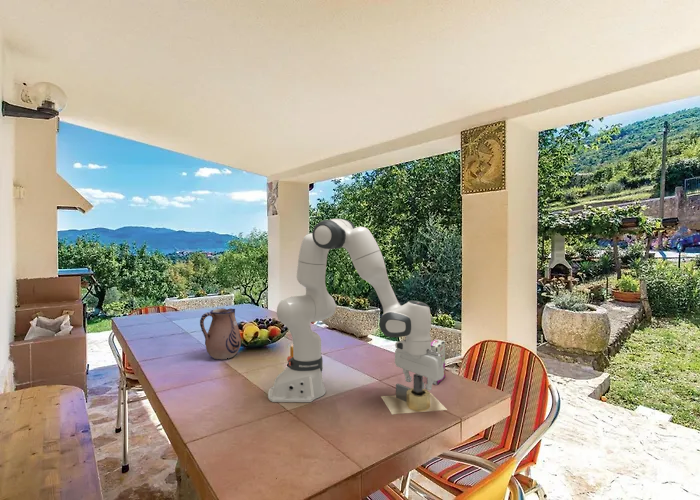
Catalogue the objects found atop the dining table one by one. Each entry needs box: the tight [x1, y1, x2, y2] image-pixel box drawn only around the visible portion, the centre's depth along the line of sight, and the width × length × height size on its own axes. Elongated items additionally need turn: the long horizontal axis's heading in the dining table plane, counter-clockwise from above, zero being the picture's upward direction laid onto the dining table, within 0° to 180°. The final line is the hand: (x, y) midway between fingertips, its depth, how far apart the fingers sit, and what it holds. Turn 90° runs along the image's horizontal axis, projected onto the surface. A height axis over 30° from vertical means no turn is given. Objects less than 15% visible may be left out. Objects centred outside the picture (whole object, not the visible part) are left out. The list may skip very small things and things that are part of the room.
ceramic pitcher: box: [199, 307, 242, 360], centre depth 191 cm, size 18×21×25 cm
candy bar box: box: [426, 339, 446, 386], centre depth 160 cm, size 11×5×16 cm, turn 148°
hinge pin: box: [413, 373, 424, 395], centre depth 130 cm, size 3×3×11 cm
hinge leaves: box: [395, 381, 431, 411], centre depth 133 cm, size 11×13×5 cm
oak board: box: [380, 392, 448, 415], centre depth 133 cm, size 20×15×2 cm
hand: (418, 385), depth 130 cm, fingers open, 8 cm apart
